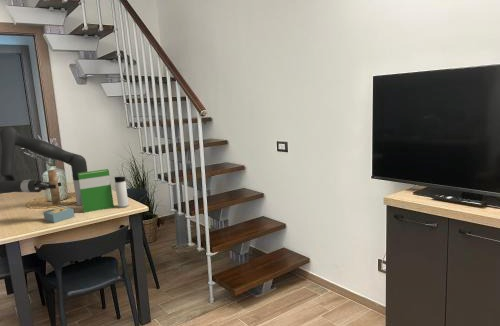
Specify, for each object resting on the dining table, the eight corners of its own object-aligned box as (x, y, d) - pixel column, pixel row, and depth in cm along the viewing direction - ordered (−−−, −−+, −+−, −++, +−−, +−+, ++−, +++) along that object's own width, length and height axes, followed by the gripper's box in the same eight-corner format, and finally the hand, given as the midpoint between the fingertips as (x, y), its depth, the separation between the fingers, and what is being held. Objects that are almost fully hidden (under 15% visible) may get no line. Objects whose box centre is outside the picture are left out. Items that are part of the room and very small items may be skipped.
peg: (58, 202, 223) (53, 169, 219) (62, 203, 220) (57, 170, 217) (51, 204, 220) (46, 170, 216) (54, 205, 217) (49, 171, 213)
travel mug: (115, 208, 236) (111, 177, 232) (122, 204, 242) (118, 174, 238) (123, 208, 234) (119, 177, 230) (130, 205, 240) (126, 175, 236)
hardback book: (84, 212, 230) (78, 175, 226) (83, 209, 237) (77, 173, 232) (113, 207, 238) (108, 170, 233) (112, 204, 244) (107, 168, 240)
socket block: (64, 214, 230) (63, 206, 229) (74, 216, 223) (73, 208, 222) (44, 219, 221) (43, 211, 220) (54, 223, 213) (52, 214, 213)
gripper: (21, 182, 212) (49, 182, 210) (38, 177, 226) (64, 176, 224) (24, 195, 214) (51, 194, 211) (40, 189, 228) (66, 188, 225)
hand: (58, 185), depth 218 cm, fingers closed on peg, 4 cm apart
